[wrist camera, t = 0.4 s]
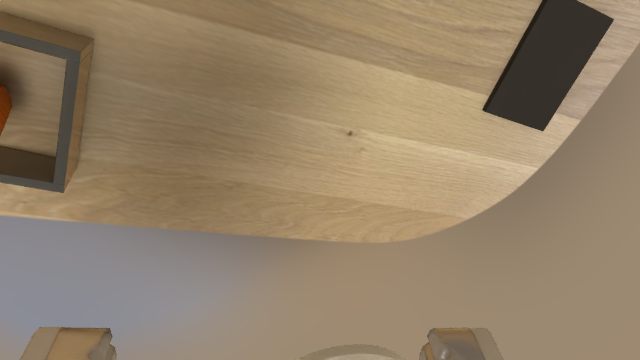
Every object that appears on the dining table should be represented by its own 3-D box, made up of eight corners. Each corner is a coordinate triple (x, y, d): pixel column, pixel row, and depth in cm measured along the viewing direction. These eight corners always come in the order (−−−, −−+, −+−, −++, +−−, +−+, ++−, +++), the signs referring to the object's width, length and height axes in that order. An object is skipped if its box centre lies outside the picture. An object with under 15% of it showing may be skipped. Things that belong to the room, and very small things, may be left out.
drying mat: (539, 129, 46) (543, 131, 46) (482, 109, 43) (485, 112, 43) (609, 18, 41) (614, 19, 41) (549, -12, 39) (554, -11, 38)
